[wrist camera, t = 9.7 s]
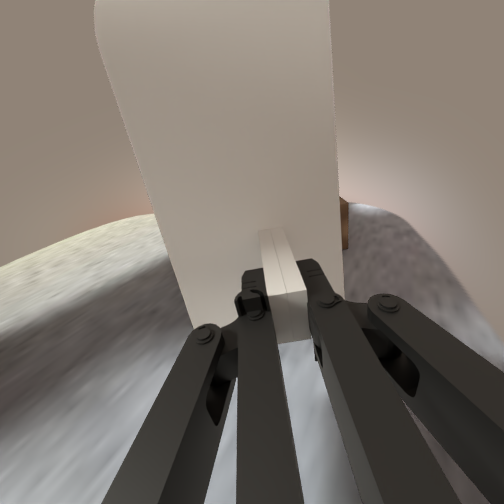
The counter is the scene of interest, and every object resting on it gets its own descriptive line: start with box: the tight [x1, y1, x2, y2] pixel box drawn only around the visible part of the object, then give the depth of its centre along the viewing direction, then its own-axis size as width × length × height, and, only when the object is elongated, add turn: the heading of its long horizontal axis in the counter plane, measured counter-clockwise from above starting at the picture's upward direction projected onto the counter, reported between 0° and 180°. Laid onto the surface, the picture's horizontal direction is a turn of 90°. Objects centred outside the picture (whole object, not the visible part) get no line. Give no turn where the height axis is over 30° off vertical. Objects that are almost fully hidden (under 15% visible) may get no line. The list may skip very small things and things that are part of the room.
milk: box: [94, 0, 345, 329], centre depth 17 cm, size 12×12×26 cm
